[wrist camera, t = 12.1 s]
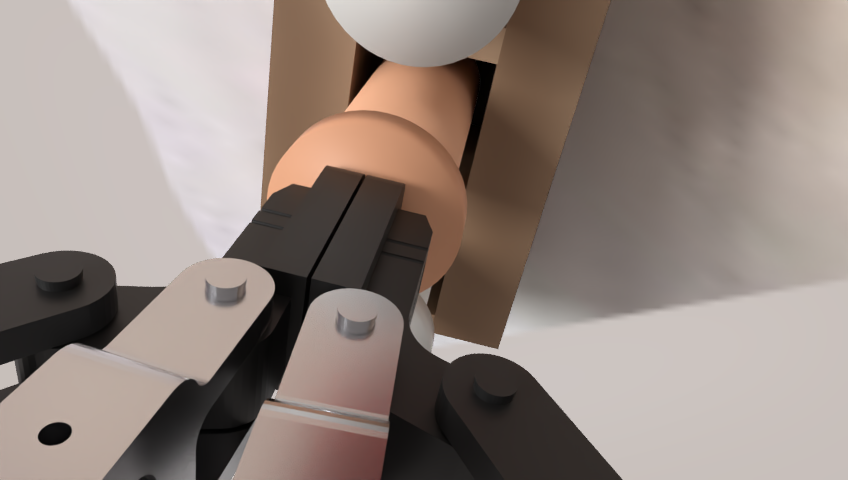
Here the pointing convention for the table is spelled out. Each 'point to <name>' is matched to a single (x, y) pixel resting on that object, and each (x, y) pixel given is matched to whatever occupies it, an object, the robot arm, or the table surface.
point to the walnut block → (485, 146)
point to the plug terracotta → (401, 146)
